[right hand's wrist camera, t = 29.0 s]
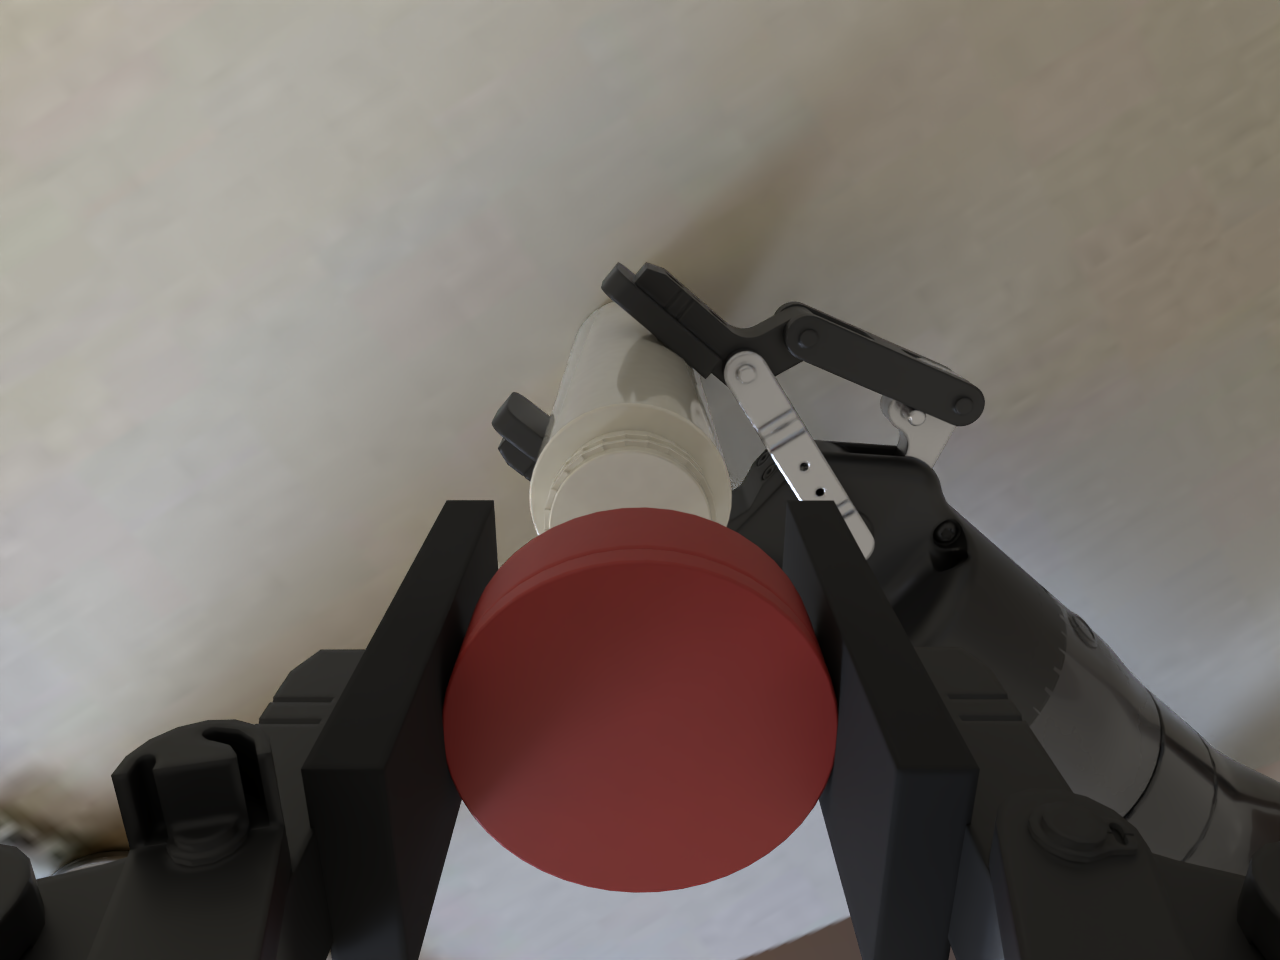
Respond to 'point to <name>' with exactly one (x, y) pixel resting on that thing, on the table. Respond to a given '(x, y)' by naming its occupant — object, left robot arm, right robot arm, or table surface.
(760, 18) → the table surface
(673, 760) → the lid
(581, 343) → the jar
